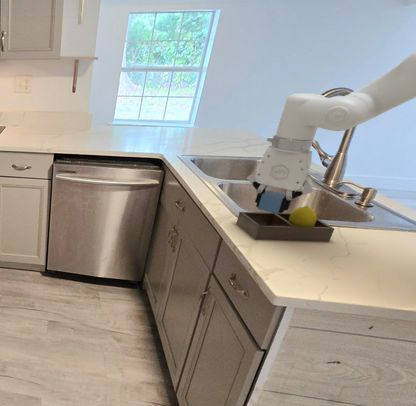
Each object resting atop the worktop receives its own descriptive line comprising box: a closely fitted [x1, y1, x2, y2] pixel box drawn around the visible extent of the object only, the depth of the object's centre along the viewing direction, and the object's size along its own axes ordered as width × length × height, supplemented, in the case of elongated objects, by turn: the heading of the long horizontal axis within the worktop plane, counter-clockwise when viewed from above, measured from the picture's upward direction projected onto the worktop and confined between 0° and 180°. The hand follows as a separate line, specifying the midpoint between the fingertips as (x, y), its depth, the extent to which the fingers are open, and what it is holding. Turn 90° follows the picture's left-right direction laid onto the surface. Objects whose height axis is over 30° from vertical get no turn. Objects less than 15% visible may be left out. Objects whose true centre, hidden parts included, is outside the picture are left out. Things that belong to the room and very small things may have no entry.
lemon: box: [289, 205, 317, 227], centre depth 100 cm, size 6×6×8 cm
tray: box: [235, 211, 335, 243], centre depth 102 cm, size 10×18×4 cm, turn 83°
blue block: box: [257, 189, 286, 214], centre depth 99 cm, size 4×4×4 cm
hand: (270, 208), depth 100 cm, fingers closed on blue block, 4 cm apart
